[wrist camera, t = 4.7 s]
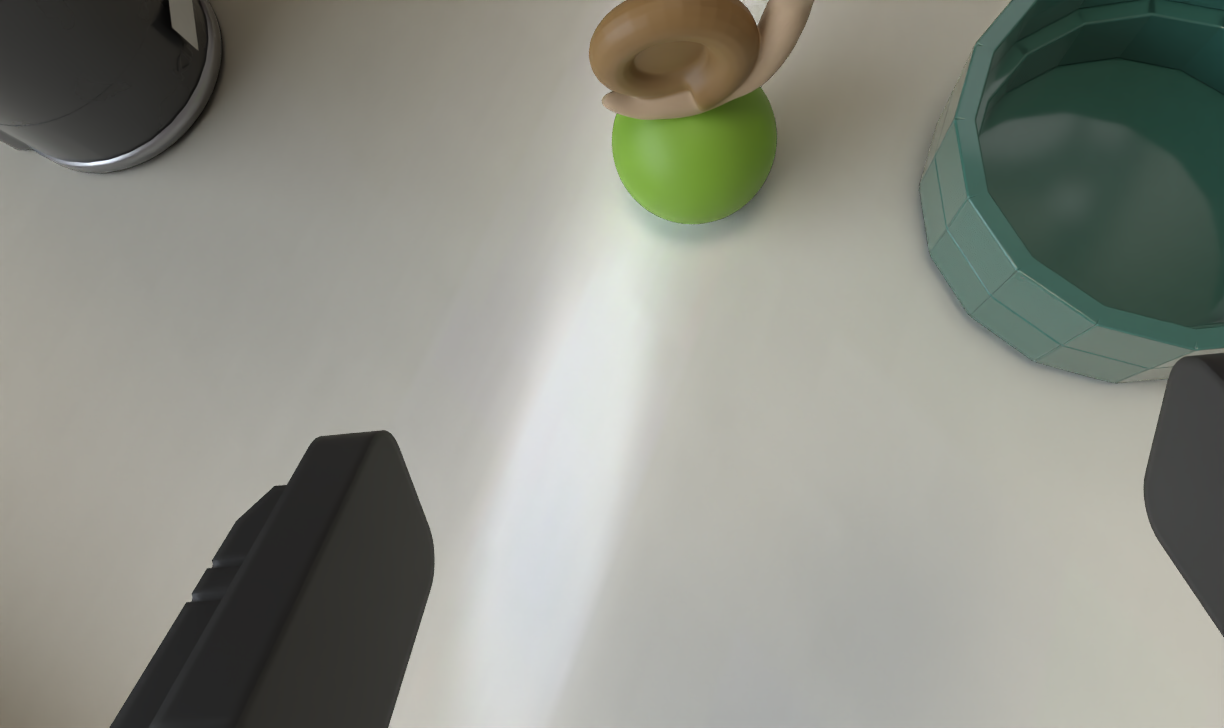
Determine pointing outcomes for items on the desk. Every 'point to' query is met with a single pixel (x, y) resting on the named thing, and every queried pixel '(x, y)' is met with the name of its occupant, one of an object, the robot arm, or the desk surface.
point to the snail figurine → (693, 99)
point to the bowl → (1087, 184)
